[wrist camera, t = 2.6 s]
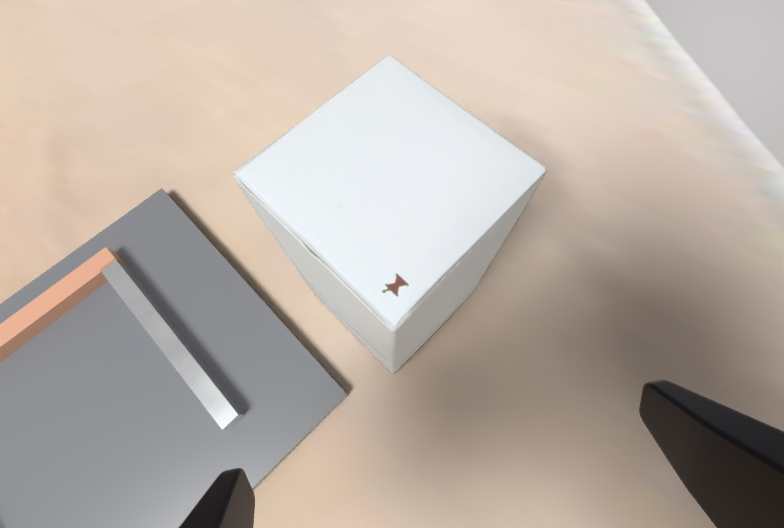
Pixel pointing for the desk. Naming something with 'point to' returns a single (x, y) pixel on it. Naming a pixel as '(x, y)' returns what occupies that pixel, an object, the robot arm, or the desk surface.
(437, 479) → the desk surface
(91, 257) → the rail stand
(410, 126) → the supplement box
